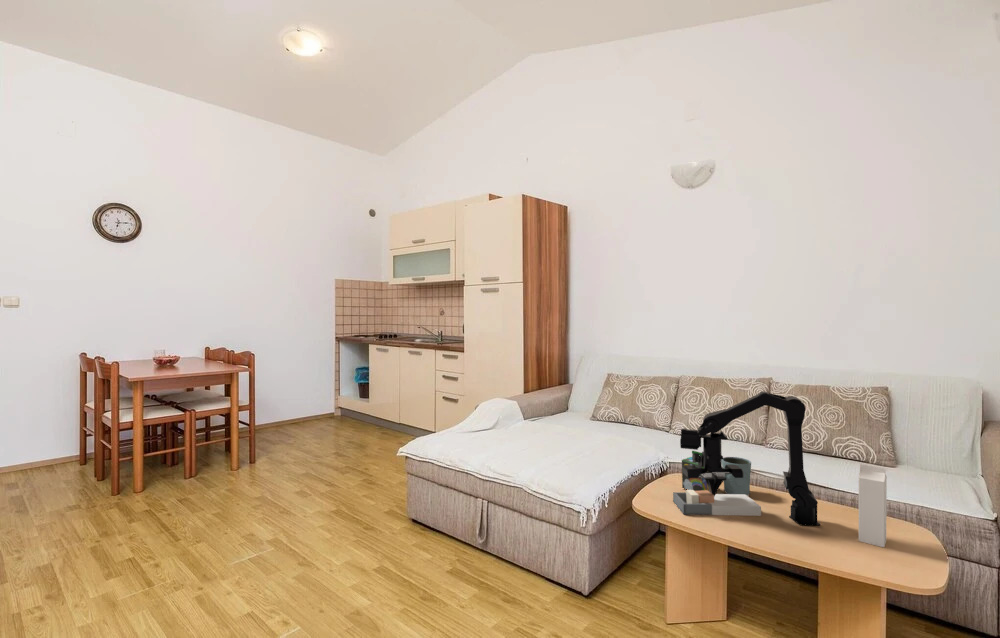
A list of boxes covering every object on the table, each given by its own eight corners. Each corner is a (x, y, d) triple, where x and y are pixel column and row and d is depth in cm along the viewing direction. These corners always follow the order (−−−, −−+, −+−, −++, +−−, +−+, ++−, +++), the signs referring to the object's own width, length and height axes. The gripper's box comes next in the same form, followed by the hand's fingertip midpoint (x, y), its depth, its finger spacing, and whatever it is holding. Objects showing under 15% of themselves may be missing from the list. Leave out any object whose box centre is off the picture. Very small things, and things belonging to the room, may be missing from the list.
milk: (861, 534, 147) (861, 461, 147) (886, 540, 143) (886, 466, 143) (858, 541, 142) (858, 466, 142) (884, 548, 138) (884, 470, 138)
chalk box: (717, 491, 183) (717, 452, 183) (702, 496, 178) (702, 456, 178) (695, 484, 191) (695, 446, 191) (681, 488, 186) (681, 450, 186)
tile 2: (707, 497, 169) (707, 490, 169) (714, 502, 164) (714, 495, 164) (693, 497, 169) (693, 490, 169) (699, 503, 164) (699, 496, 164)
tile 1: (692, 489, 169) (686, 490, 169) (698, 494, 164) (691, 495, 164) (693, 503, 169) (686, 504, 169) (699, 509, 164) (692, 510, 164)
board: (745, 502, 172) (745, 494, 172) (761, 515, 161) (761, 506, 161) (699, 502, 172) (699, 493, 172) (712, 515, 161) (712, 506, 161)
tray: (699, 502, 172) (699, 492, 172) (711, 515, 161) (711, 504, 161) (673, 502, 173) (673, 492, 173) (683, 514, 162) (683, 504, 162)
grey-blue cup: (741, 499, 175) (741, 466, 175) (715, 490, 184) (715, 459, 184) (756, 493, 181) (756, 461, 181) (731, 485, 189) (731, 454, 189)
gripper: (729, 444, 174) (730, 487, 175) (677, 444, 175) (677, 487, 175) (744, 453, 163) (744, 499, 163) (688, 453, 164) (688, 499, 164)
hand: (712, 496), depth 167 cm, fingers closed
